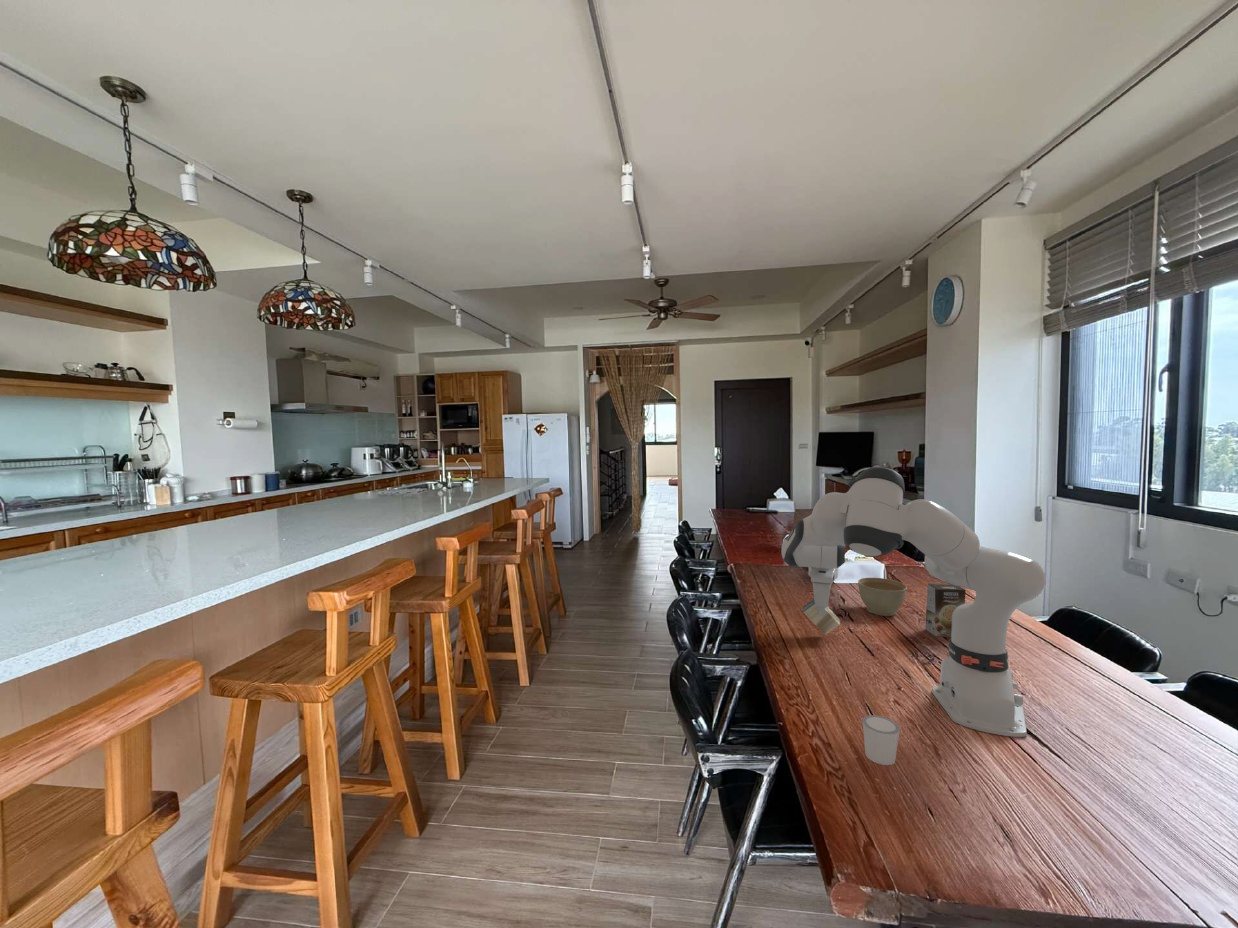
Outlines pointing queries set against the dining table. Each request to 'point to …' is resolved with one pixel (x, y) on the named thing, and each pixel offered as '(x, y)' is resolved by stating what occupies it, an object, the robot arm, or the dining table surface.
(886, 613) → the planter bowl
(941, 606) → the coffee box
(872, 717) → the shot glass
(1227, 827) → the dining table surface
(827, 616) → the birch block
